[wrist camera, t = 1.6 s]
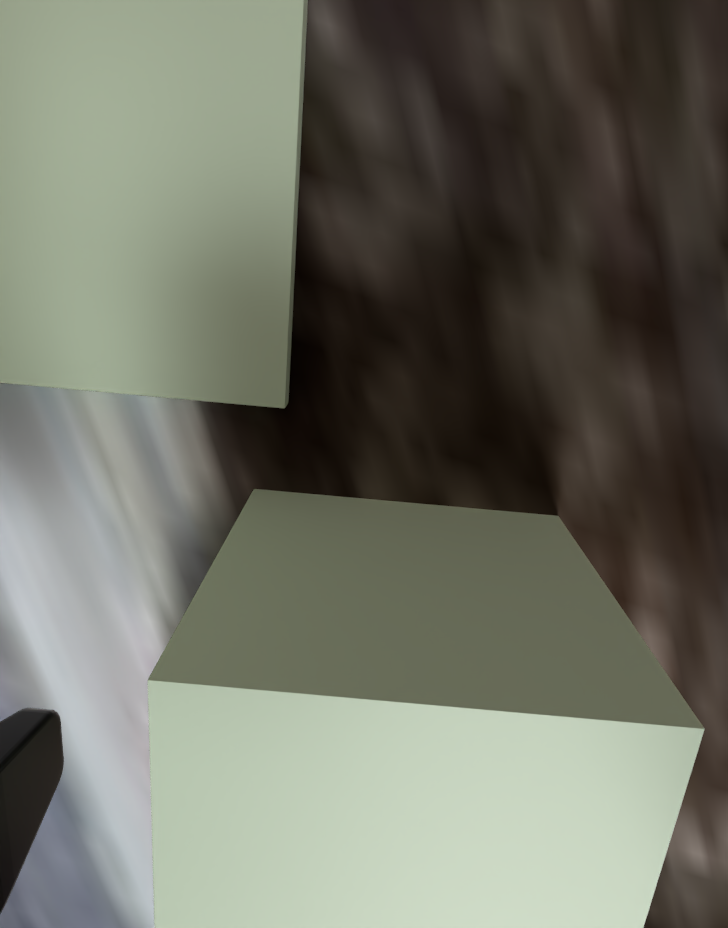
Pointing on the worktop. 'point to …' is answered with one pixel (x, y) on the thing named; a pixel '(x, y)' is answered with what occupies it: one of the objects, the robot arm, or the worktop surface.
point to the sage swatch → (150, 195)
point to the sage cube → (409, 728)
